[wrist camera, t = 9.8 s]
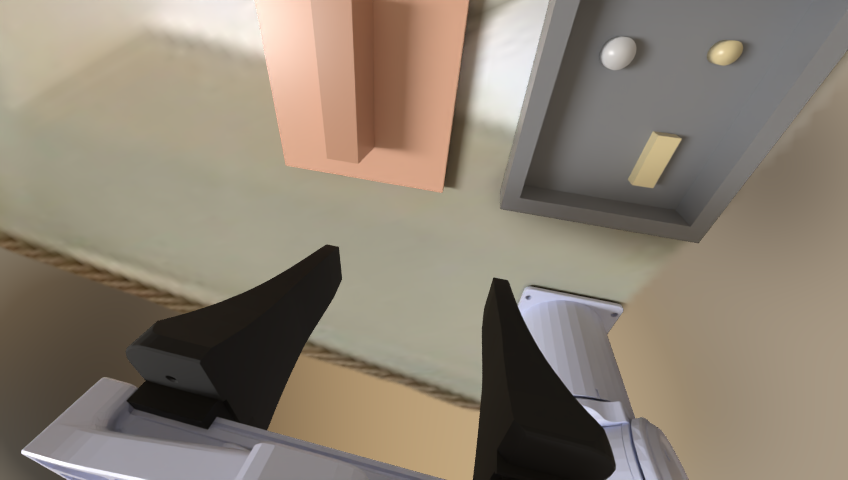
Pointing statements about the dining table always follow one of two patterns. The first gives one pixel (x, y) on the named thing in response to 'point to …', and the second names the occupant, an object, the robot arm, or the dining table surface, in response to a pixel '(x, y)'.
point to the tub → (663, 106)
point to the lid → (365, 85)
